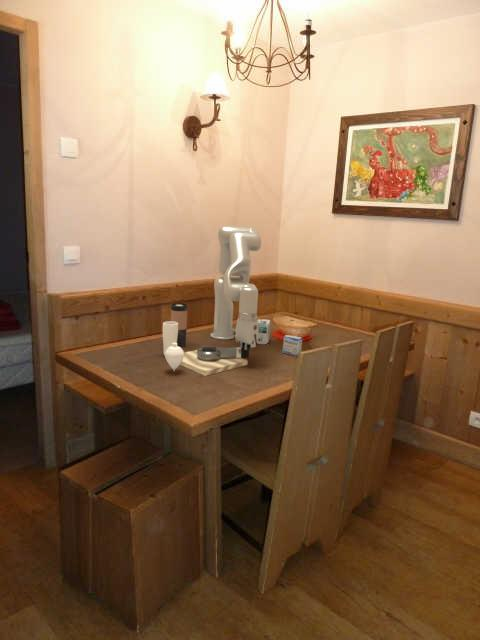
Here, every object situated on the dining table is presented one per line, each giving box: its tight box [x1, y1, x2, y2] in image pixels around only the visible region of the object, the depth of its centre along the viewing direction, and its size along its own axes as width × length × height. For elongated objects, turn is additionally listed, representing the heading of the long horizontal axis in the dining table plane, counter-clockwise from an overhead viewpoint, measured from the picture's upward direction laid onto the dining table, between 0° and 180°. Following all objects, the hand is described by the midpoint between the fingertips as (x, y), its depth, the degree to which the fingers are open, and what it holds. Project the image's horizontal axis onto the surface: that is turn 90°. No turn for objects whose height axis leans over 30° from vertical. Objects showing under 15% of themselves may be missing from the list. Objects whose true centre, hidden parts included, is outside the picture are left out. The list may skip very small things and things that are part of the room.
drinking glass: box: [162, 320, 178, 357], centre depth 205 cm, size 7×7×15 cm
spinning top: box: [164, 343, 185, 372], centre depth 185 cm, size 8×8×12 cm
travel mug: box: [170, 302, 188, 348], centre depth 221 cm, size 8×8×20 cm
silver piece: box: [196, 345, 241, 361], centre depth 200 cm, size 19×10×5 cm, turn 100°
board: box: [179, 349, 248, 377], centre depth 200 cm, size 24×24×2 cm
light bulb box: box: [256, 318, 271, 345], centre depth 238 cm, size 11×7×11 cm, turn 171°
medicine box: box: [282, 334, 303, 357], centre depth 219 cm, size 8×4×9 cm, turn 62°
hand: (244, 357), depth 199 cm, fingers closed
